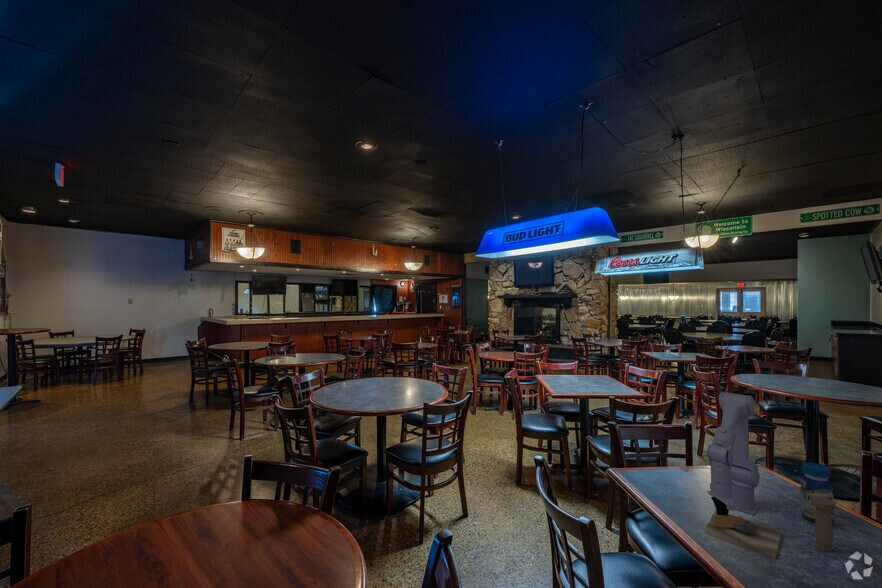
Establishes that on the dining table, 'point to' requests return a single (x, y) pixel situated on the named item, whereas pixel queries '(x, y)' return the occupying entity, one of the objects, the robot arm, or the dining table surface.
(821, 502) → the handle
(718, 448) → the robot arm
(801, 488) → the beverage bottle
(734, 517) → the lever with round base
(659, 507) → the dining table surface
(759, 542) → the post board
